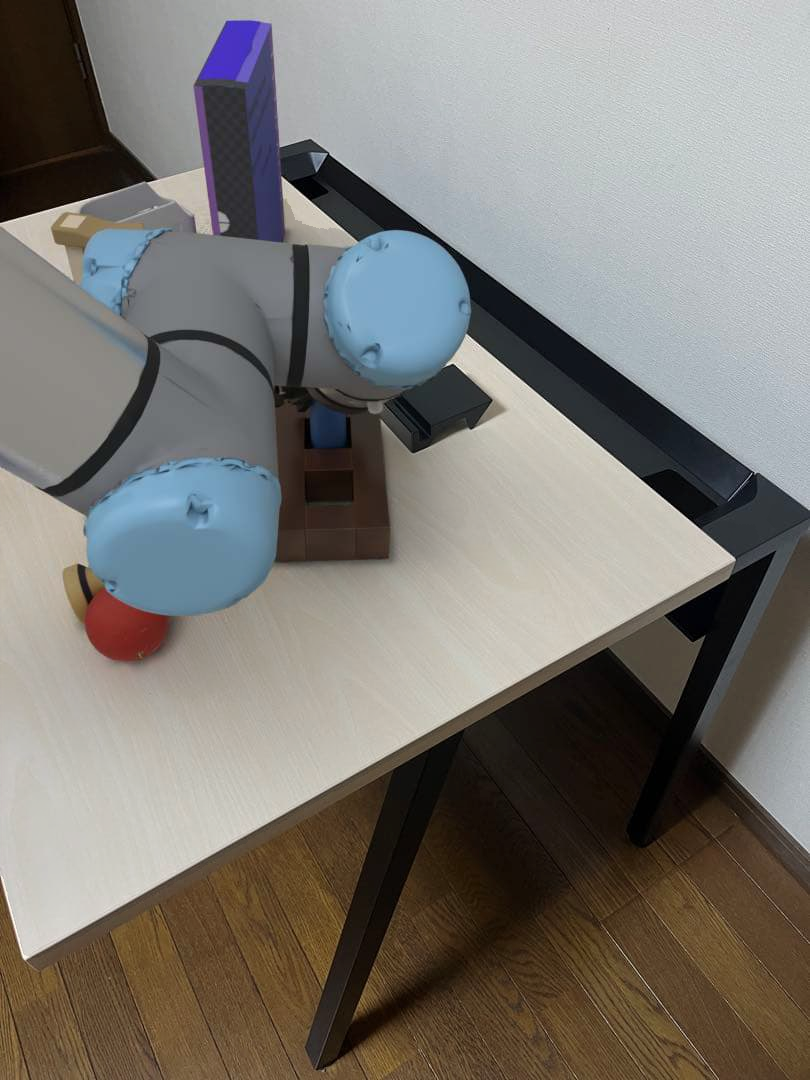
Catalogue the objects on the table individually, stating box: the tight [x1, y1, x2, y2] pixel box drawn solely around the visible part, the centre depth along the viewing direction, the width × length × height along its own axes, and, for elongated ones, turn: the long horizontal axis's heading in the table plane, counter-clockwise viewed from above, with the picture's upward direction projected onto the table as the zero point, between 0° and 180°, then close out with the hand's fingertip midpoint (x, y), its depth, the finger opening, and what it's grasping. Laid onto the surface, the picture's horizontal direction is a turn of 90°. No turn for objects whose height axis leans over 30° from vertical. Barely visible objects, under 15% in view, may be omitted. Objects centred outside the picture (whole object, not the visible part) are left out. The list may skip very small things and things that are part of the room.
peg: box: [309, 399, 346, 449], centre depth 76 cm, size 3×3×12 cm
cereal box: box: [193, 19, 286, 243], centre depth 95 cm, size 17×5×24 cm, turn 178°
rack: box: [274, 399, 391, 563], centre depth 78 cm, size 10×17×4 cm, turn 5°
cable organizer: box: [76, 181, 198, 233], centre depth 94 cm, size 7×12×12 cm, turn 134°
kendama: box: [62, 562, 170, 662], centre depth 70 cm, size 8×6×18 cm
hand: (319, 394), depth 81 cm, fingers closed on peg, 3 cm apart
